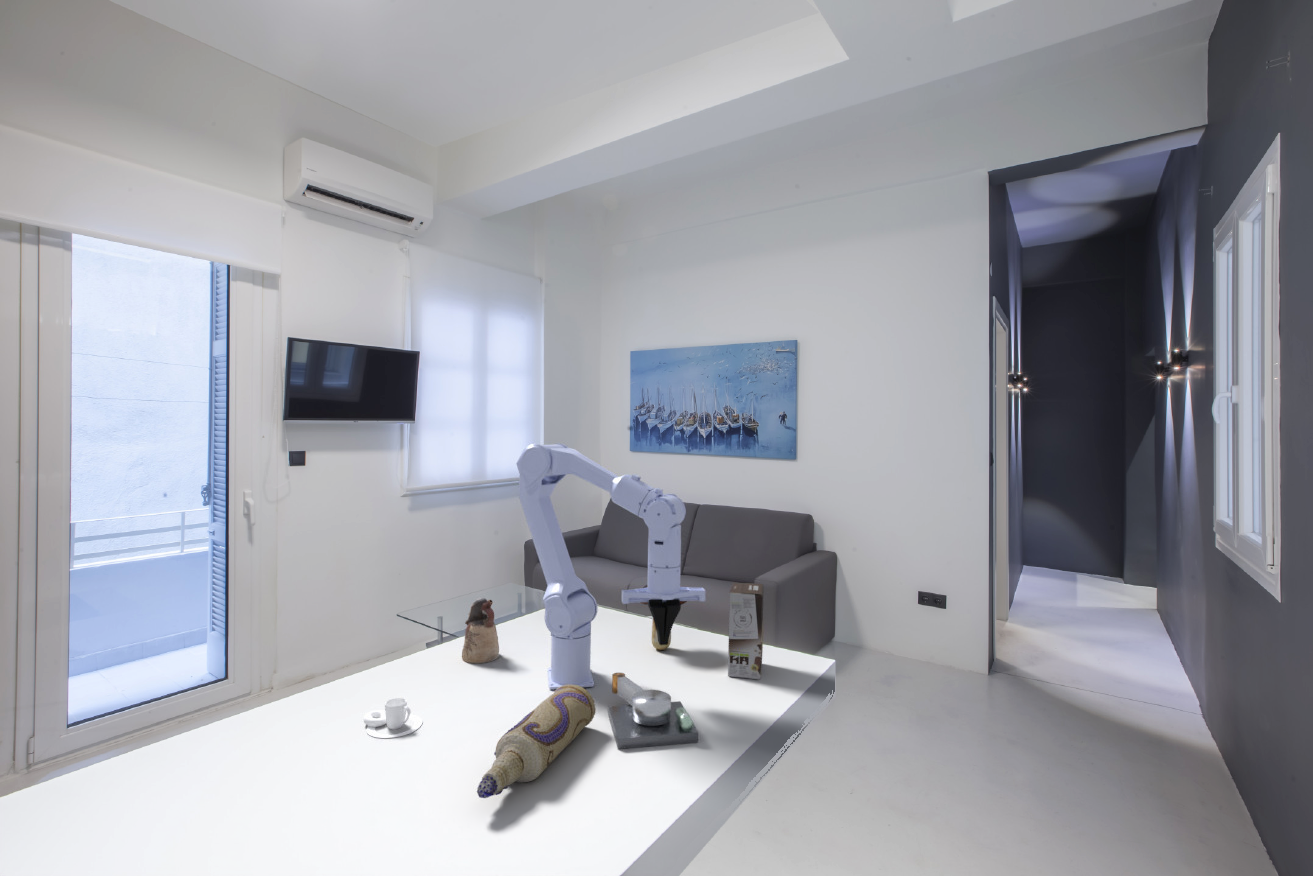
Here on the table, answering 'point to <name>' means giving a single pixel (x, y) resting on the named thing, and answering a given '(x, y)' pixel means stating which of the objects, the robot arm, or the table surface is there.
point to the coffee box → (745, 630)
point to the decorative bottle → (538, 739)
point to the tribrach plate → (651, 728)
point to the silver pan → (643, 701)
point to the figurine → (480, 634)
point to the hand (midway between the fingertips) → (662, 643)
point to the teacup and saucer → (391, 718)
